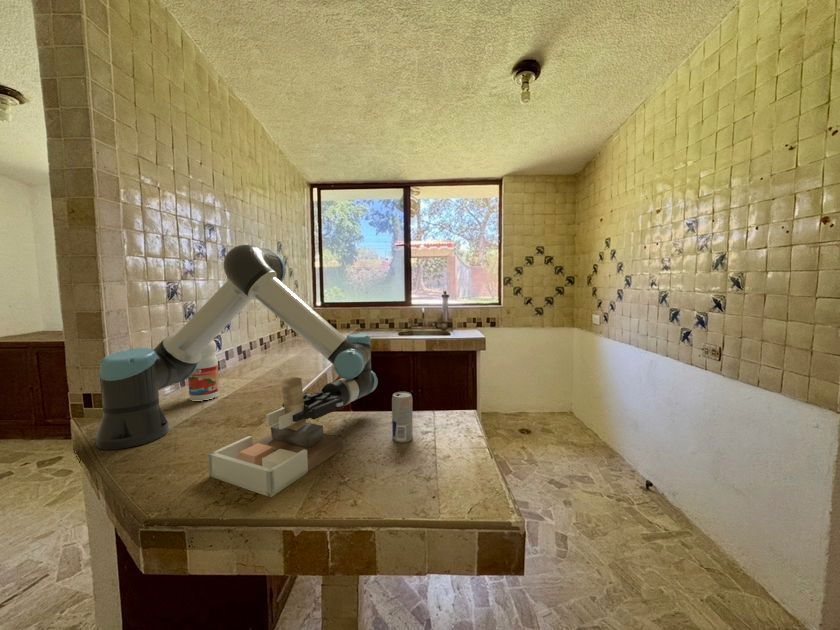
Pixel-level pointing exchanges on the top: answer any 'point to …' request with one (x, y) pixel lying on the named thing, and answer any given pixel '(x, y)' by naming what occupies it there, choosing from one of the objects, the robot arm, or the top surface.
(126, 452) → the top surface
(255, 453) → the tile terracotta
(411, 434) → the energy drink
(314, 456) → the board
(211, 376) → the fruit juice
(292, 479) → the tray
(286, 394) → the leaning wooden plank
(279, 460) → the tile cream
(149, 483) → the top surface
